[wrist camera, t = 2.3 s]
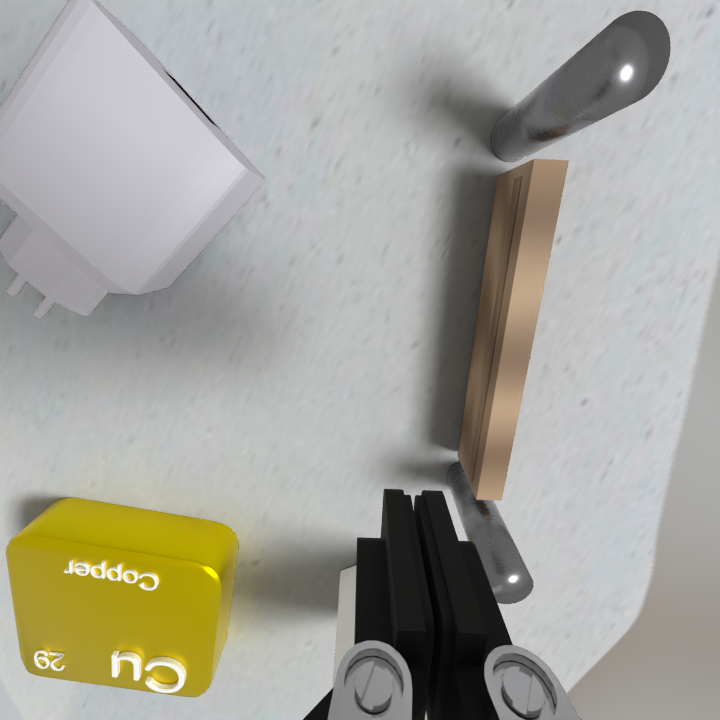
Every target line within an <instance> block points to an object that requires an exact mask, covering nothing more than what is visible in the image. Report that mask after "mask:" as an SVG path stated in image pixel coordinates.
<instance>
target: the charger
mask: <svg viewBox="0 0 720 720" xmlns="http://www.w3.org/2000/svg"><path fill="white" fill-rule="evenodd" d="M164 70H165V71H166V72H167V73H168V74H169V75H171V76H172V74H171V73H170V72H169V71H168V70H167V69H166V68H165V67H164V66H163V64H162V63H161V62H160V61H159V60H158V59H157V58H156V57H155V56H154V55H153V54H152V52H151V51H150V50H149V49H148V48H147V47H146V46H145V45H144V44H143V43H142V42H141V41H140V40H139V39H138V38H137V37H136V36H135V35H134V34H133V33H132V32H131V31H130V30H129V29H128V28H127V27H126V26H125V25H124V24H123V23H122V22H120V21H119V20H118V19H117V18H116V17H115V16H114V15H113V14H111V13H110V12H109V11H108V10H107V9H106V8H105V7H104V6H103V5H101V4H100V3H99V2H98V1H97V0H68V2H67V4H66V5H65V7H64V8H63V10H62V11H61V13H60V15H59V16H58V18H57V19H56V21H55V22H54V24H53V25H52V27H51V29H50V30H49V32H48V33H47V35H46V36H45V38H44V40H43V41H42V43H41V44H40V46H39V47H38V49H37V51H36V52H35V54H34V55H33V57H32V58H31V60H30V62H29V63H28V65H27V66H26V68H25V69H24V71H23V73H22V74H21V76H20V77H19V79H18V80H17V82H16V84H15V85H14V87H13V88H12V90H11V91H10V93H9V95H8V96H7V98H6V99H5V101H4V102H3V104H2V106H1V107H0V199H1V200H2V201H3V202H4V203H6V204H7V205H8V206H9V207H10V208H11V209H12V210H13V211H15V212H16V213H17V215H16V217H15V218H14V220H13V221H12V222H11V224H10V225H9V227H8V228H7V229H6V231H5V232H4V234H3V235H2V236H1V238H0V252H1V254H2V256H3V258H4V260H5V261H6V263H7V265H8V266H9V267H10V268H11V269H13V270H14V271H15V272H16V273H17V274H18V275H17V276H16V277H15V279H14V280H13V281H12V283H11V284H10V285H9V287H8V288H7V289H6V293H7V294H8V295H9V296H13V297H15V296H17V294H18V293H19V292H20V291H21V289H22V288H23V287H24V285H25V284H26V283H27V282H28V283H29V284H31V285H32V286H33V287H34V288H35V289H37V290H38V291H39V292H40V293H41V294H42V295H44V296H45V298H44V299H43V300H42V301H41V303H40V304H39V305H38V306H37V308H36V309H35V310H34V311H33V315H34V316H35V317H36V318H43V317H44V315H45V314H46V313H47V312H48V310H49V309H50V308H51V307H52V305H53V304H54V303H57V304H59V305H61V306H63V307H65V308H67V309H69V310H71V311H73V312H75V313H77V314H80V315H84V316H89V314H90V313H91V312H92V311H93V310H94V309H95V307H96V306H97V305H98V304H99V303H100V301H101V300H102V299H103V298H104V297H105V296H106V294H107V293H108V292H110V293H116V294H133V295H141V294H145V293H149V292H152V291H156V290H160V289H164V288H168V287H170V285H171V284H172V283H173V282H174V281H175V280H176V279H177V278H178V277H179V275H180V274H181V273H182V272H183V271H184V270H185V269H186V268H187V267H188V265H189V264H190V263H191V262H192V261H193V260H194V259H195V258H196V257H197V255H198V254H199V253H200V252H201V251H202V250H203V249H204V248H205V246H206V245H207V244H208V243H209V242H210V241H211V240H212V239H213V238H214V236H215V235H216V234H217V233H218V232H219V231H220V230H221V229H222V228H223V226H224V225H225V224H226V223H227V222H228V221H229V220H230V219H231V218H232V216H233V215H234V214H235V213H236V212H237V211H238V210H239V209H240V208H241V206H242V205H243V204H244V203H245V202H246V201H247V200H248V199H249V198H250V196H251V195H252V194H253V193H254V192H255V191H256V190H257V189H258V188H259V186H260V185H261V184H262V183H263V182H264V181H265V178H264V177H263V176H262V174H261V173H260V172H259V171H258V170H257V169H256V168H255V166H254V165H253V164H252V163H251V162H250V161H249V160H248V159H247V157H246V156H245V155H244V154H243V153H242V152H241V151H240V150H239V149H238V147H237V146H236V145H235V144H234V143H233V142H232V141H231V140H230V139H229V137H228V136H227V135H226V134H225V133H224V132H223V131H222V130H221V129H219V128H218V127H219V126H218V125H217V124H216V123H215V122H214V121H213V120H212V119H211V118H210V119H211V120H212V121H213V122H214V123H215V124H216V125H217V126H218V127H216V126H215V125H214V124H212V123H211V122H210V121H209V120H208V119H207V118H206V116H205V115H204V114H203V113H202V112H201V111H200V110H199V109H198V108H197V107H196V105H195V104H194V103H193V102H192V101H191V100H190V99H189V98H188V97H187V96H186V94H185V93H184V92H183V91H182V90H181V89H180V88H179V87H178V86H177V85H176V83H175V82H174V81H173V80H172V79H171V78H170V77H169V76H168V75H167V73H166V72H165V71H164ZM172 77H173V76H172ZM173 78H174V77H173ZM174 79H175V78H174ZM175 80H176V79H175ZM176 81H177V80H176ZM177 82H178V81H177ZM178 83H179V82H178ZM179 84H180V83H179ZM180 85H181V84H180ZM181 86H182V85H181ZM182 88H183V87H182ZM183 89H184V88H183ZM184 90H185V89H184ZM185 91H186V90H185ZM186 92H187V91H186ZM187 93H188V92H187ZM188 94H189V93H188ZM189 95H190V94H189ZM190 96H191V95H190ZM191 98H192V97H191ZM192 99H193V98H192ZM193 100H194V99H193ZM194 101H195V100H194ZM195 102H196V101H195ZM196 103H197V102H196ZM197 104H198V103H197ZM198 105H199V104H198ZM199 106H200V105H199ZM201 109H202V108H201ZM202 110H203V109H202ZM203 111H204V110H203ZM204 112H205V111H204ZM205 113H206V112H205ZM206 114H207V113H206ZM207 115H208V114H207ZM208 116H209V115H208ZM209 117H210V116H209Z"/></svg>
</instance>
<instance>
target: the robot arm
mask: <svg viewBox="0 0 720 720" xmlns="http://www.w3.org/2000/svg"><path fill="white" fill-rule="evenodd" d="M426 713H427V720H582V719H581V718H580V716H579V715H578V713H577V711H576V709H575V708H574V706H573V704H572V703H571V701H570V699H569V697H568V696H567V694H566V692H565V690H564V689H563V687H562V685H561V683H560V682H559V680H558V679H557V677H556V676H555V674H554V673H553V672H552V670H551V669H550V667H549V666H547V665H546V664H545V663H544V662H543V661H542V660H541V659H540V658H539V657H538V656H536V655H535V654H533V653H531V652H530V651H528V650H526V649H524V648H521V647H518V646H513V644H512V642H511V639H510V636H509V634H508V631H507V628H506V626H505V623H504V620H503V618H502V615H501V612H500V610H499V607H498V604H497V601H496V599H495V596H494V593H493V591H492V588H491V585H490V583H489V580H488V577H487V575H486V572H485V569H484V567H483V564H482V561H481V559H480V556H479V553H478V551H477V548H476V546H475V544H474V543H473V542H472V541H458V538H457V535H456V532H455V529H454V525H453V522H452V519H451V516H450V513H449V510H448V507H447V504H446V500H445V497H444V494H443V492H442V491H429V490H423V491H422V495H416V496H415V502H414V511H413V506H412V500H411V496H410V495H404V492H403V490H400V489H384V495H383V511H382V526H381V538H357V560H356V593H355V635H354V646H353V647H352V648H351V649H349V650H348V651H347V653H346V654H345V655H344V657H343V658H342V660H341V662H340V665H339V667H338V670H337V674H336V679H335V684H334V687H333V688H332V689H331V691H330V692H329V693H328V694H327V695H326V696H325V697H324V698H323V699H322V700H321V701H320V702H319V703H318V704H317V705H316V706H315V707H314V709H313V710H312V711H311V712H310V713H309V714H308V715H307V716H306V717H305V718H304V719H303V720H425V715H426Z"/></svg>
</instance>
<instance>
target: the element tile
mask: <svg viewBox="0 0 720 720" xmlns="http://www.w3.org/2000/svg"><path fill="white" fill-rule="evenodd" d="M238 548H239V544H238V539H237V536H236V534H235V533H234V532H233V531H232V530H231V529H230V528H229V527H227V526H225V525H223V524H221V523H218V522H215V521H210V520H204V519H198V518H192V517H186V516H180V515H174V514H168V513H162V512H157V511H151V510H145V509H139V508H133V507H127V506H121V505H115V504H110V503H104V502H98V501H92V500H86V499H80V498H63V499H59V500H58V501H56V502H55V503H53V504H52V505H51V506H50V507H48V508H47V509H46V510H45V511H44V512H43V513H41V514H40V515H39V516H38V517H37V518H35V519H34V520H33V521H32V522H31V523H30V524H28V525H27V526H26V527H25V528H24V529H23V530H21V531H20V532H19V533H18V534H17V535H16V536H14V537H13V538H12V539H11V540H10V542H9V544H8V546H7V548H6V558H7V565H8V572H9V579H10V586H11V593H12V600H13V606H14V613H15V620H16V627H17V634H18V641H19V648H20V655H21V659H22V661H23V663H24V665H25V667H26V669H27V671H28V672H29V673H32V674H34V675H38V676H43V677H48V678H55V679H62V680H69V681H76V682H83V683H90V684H97V685H105V686H112V687H119V688H126V689H133V690H140V691H147V692H154V693H161V694H168V695H175V696H183V697H198V696H200V695H201V694H202V693H204V692H205V691H206V690H207V689H208V688H209V686H210V685H211V683H212V680H213V677H214V674H215V671H216V668H217V665H218V662H219V659H220V656H221V653H222V650H223V648H224V645H225V642H226V639H227V634H228V626H229V618H230V610H231V603H232V595H233V587H234V579H235V571H236V564H237V556H238Z"/></svg>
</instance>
